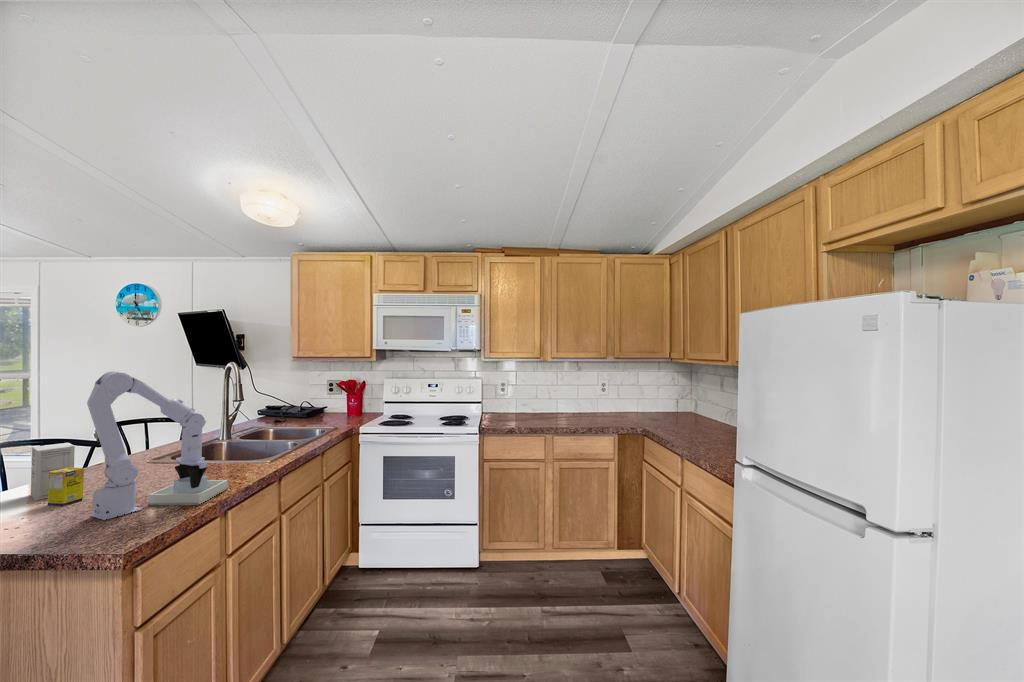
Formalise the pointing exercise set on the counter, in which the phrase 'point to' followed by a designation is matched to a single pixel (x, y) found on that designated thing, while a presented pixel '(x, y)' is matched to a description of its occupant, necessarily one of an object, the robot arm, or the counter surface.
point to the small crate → (189, 486)
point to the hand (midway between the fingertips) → (190, 486)
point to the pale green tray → (168, 498)
